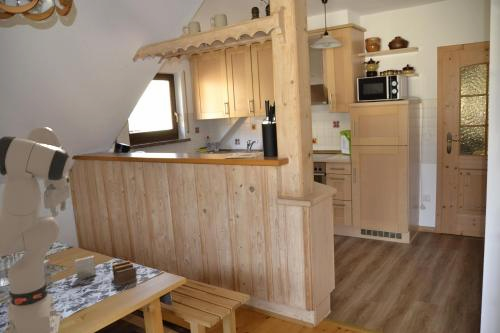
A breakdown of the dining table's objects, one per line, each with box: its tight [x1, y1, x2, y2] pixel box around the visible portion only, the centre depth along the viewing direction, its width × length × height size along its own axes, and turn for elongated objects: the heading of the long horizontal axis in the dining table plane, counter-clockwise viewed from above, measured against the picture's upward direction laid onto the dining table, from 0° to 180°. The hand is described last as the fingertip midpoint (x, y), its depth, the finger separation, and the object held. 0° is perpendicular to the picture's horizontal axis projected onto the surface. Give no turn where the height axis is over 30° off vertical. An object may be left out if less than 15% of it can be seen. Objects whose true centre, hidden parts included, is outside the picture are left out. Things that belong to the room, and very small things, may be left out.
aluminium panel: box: [74, 255, 97, 281], centre depth 189 cm, size 2×8×9 cm, turn 121°
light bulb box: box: [43, 259, 53, 286], centre depth 180 cm, size 11×7×11 cm, turn 168°
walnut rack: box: [111, 260, 138, 286], centre depth 184 cm, size 9×8×6 cm
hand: (59, 213), depth 180 cm, fingers open, 8 cm apart
